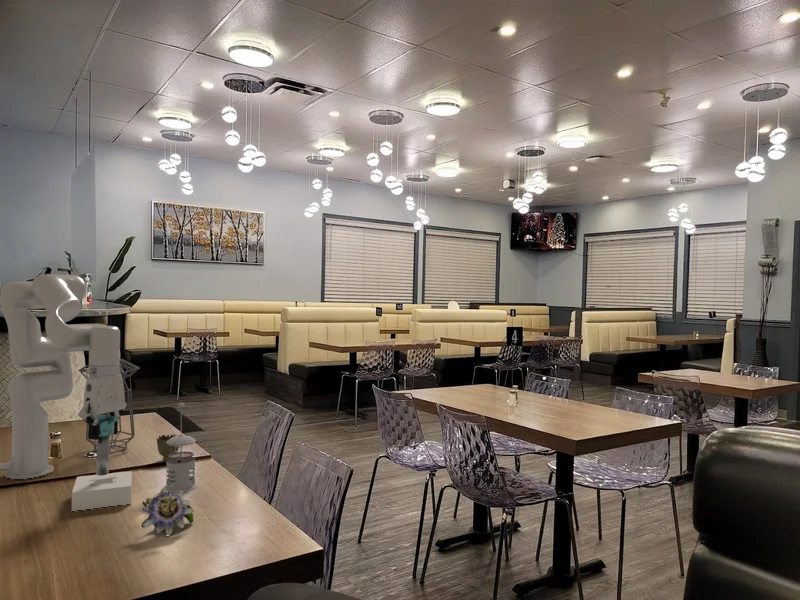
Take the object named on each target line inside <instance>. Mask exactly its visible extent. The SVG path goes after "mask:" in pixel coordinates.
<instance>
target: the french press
mask: <svg viewBox="0 0 800 600" xmlns="http://www.w3.org/2000/svg"><path fill="white" fill-rule="evenodd" d="M184 407H186V405H185V403H184V402H179V403H178V405H177V408H180V434H178V436H177V435H176V436H175V437H172V438H171V439H169V440H168V441H167V442H166V443H167V444H168V445H171V446H175V453H171V454H169V455H168V458H170V459H168V460H167V461H166V469H165V471H166V478H165V479H166V483H165V484H166V485H164V486H163V487H164V488H166V489H167V491H168V492H170V494H175V493H177V492H179V491H183V494H184V493H185V494H186V493H190V492H192V490H193V491H195V490H197V489H198V488H199V484H198V483H196V478H195V477H196V458H195V457H194V455H195V453H194V452H192V451H183V449H182V448H183V447H184V446H191V445H194V444H195V443H196V438H194V437H192V436H189V435H183V433H182V432H183V431H182V430H183V429H182V426H183V425H182V424H183V422H182V421H183V420H182V419H183V418H182V417H183V408H184ZM177 446H179V447H177ZM176 447H177V448H180V451H177V452H176ZM179 461H180V463H179ZM197 487H198V488H197ZM189 491H190V492H189Z"/></svg>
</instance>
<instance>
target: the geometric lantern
mask: <svg viewBox="0 0 800 600" xmlns="http://www.w3.org/2000/svg"><path fill="white" fill-rule="evenodd" d="M119 364H120V366H119V374H121V375H122V379H123V384H124V393H127V401H128V403H127V404H128V411H129V412H128V413H129V421H130V433H129V432H125V431H122V422H121V421H122V419H121V416H122V415H120V419H119V420H118V426H119V430H118V433H117V434H116V436H115V438H114V434H113V435H111V439H109V453H110V454H113V453H118V452H121V451H125V450H128V443H130V441H132V439H134V438H135V437H136V435H135V421H134V420H135V418H134V410H133V409H134V408H133V407H134V406H133V405H134V404H133V393H132V382H131V381H132V379H131V377H132V376H133V374H135V373H136V372H137V371H138V370H140V369H141V367H139V366H138V365H135V364H133V363H132V362H129V361H127V360H125V359H123V358H121V357H120V363H119ZM88 368H89V363H88V364H87V365H84V366H83V367H82V368H80V369H78V370H77V372H79V373H81V375H82V376H83V377H84V378H85V379H86V380H87V377H89V374H87V373H86V370H87V369H88ZM124 369H126V371H124ZM84 373H85V374H84ZM128 377H129V385H130V386H129V387H128V384H127V381H126V380H125V379H127V378H128ZM113 413H114V412H113ZM88 414H89V413H87V415H88ZM105 415H108V413H106V414H105ZM85 425H86V428H85V429H86V431H85V433H86V434H85V441H87V442H88V443H89V444H91V445H92V446H93V449H94V452H96V451H97V441H96V440H93V439H89V438H88V425H87V424H85ZM120 434H126V435H128V436H130V437H127V438H122V439H117V438H118V437H119V435H120ZM113 438H114V439H113ZM116 443H120V444H116ZM124 445H125V446H124ZM116 447H117V448H118V447H119V448H122V449H118V450H114V451H111V449H113V448H116ZM117 451H118V452H117Z"/></svg>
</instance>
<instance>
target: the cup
mask: <svg viewBox="0 0 800 600" xmlns="http://www.w3.org/2000/svg"><path fill="white" fill-rule="evenodd" d="M175 436H179V434H175V433H174V434H170V435H169V434H167V435H165V434H162V435H158V437H156V445H157V451H158V453H159V455H160V456H161V457H162V460H163V461H164V460H168V459H170V458H168V455H169V454H171V453H175V446H171V445H168V444H167V443H166V442H167V441H168V440H169V439H171V438H172V437H175ZM177 447H180V446H177ZM177 447H176V452H179V448H177Z"/></svg>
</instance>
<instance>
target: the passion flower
mask: <svg viewBox="0 0 800 600" xmlns="http://www.w3.org/2000/svg"><path fill="white" fill-rule="evenodd" d="M164 487H165V486H163V487H162V488H161V490H160V492H159V493H158V494H157V495H156V497H155V496H154V497H153V498H152V497H151V498H149V497H147V498H145V500H142V505H143V506H144V507H143V508H142V509H141V511H142V512H145V513H146V514H148V517H147V518H146V519H145V520H144V521H143V522H142V523H141V528H148V527H150V526H152V525H153V526H154V533H155V535H156V536H158V535H160V534H161V533H163V534H165V535H170V534H171V535H172V533H173V528H174V527H177V528H178V529H184V528H185V521H184V518H185V519H186V520H187V521H188V522H189V524H191V523H192V522H193V523H194V520H195V519H194V514H193V513H195V511H194V508H193V507H192V506H191V505H190V504H191V500H189V499H184V498H182V497H183V494H184V493H183V491H179V492H177V493H170V492H168V491H167V489H166V488H164ZM144 501H145V502H144ZM193 523H192V524H193ZM192 524H191V525H192ZM171 535H170V536H171Z"/></svg>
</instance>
